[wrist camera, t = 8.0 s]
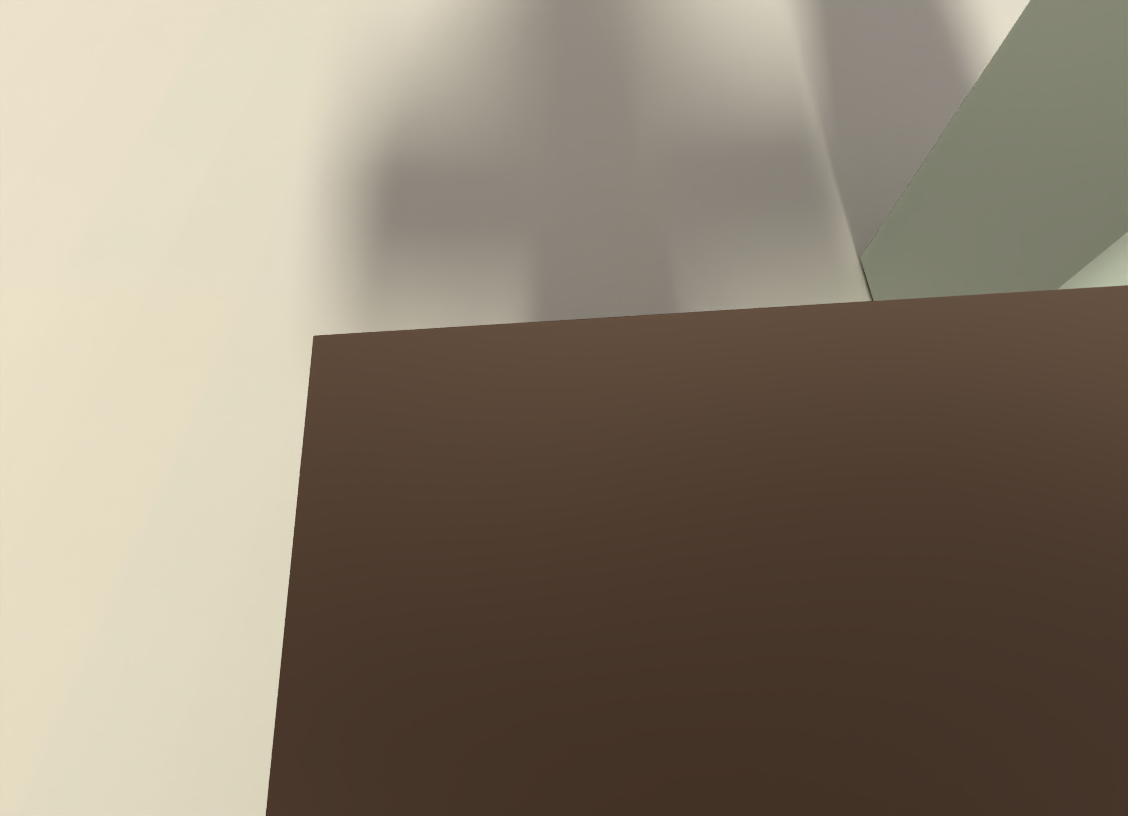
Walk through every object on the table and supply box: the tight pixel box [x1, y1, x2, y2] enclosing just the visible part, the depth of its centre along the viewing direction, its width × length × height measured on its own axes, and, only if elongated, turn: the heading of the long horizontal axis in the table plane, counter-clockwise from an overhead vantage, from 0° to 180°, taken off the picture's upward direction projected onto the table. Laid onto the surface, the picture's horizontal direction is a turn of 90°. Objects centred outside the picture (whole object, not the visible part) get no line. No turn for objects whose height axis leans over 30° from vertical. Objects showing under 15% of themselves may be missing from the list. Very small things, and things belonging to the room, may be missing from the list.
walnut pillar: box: [266, 285, 1128, 816], centre depth 9 cm, size 6×6×12 cm
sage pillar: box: [860, 0, 1128, 301], centre depth 17 cm, size 6×6×12 cm
